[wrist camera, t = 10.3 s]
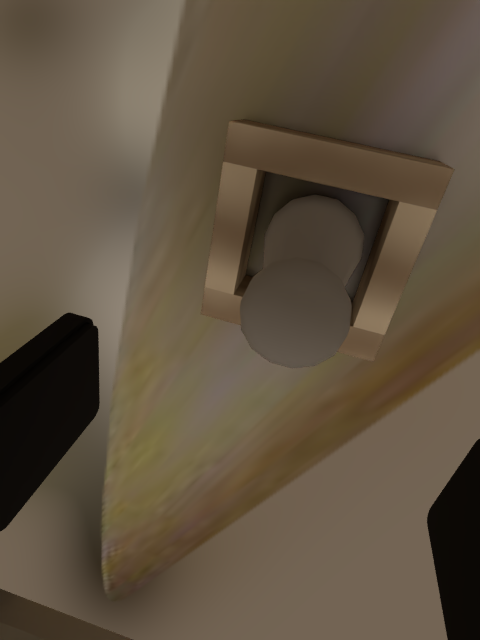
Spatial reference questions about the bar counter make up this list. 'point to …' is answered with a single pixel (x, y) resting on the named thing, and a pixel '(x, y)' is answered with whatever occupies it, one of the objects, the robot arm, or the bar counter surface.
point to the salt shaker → (303, 283)
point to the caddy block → (338, 171)
